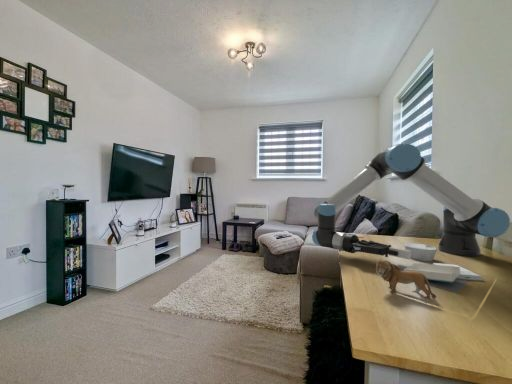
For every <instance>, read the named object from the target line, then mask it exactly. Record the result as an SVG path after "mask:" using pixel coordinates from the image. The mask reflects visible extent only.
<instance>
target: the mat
mask: <svg viewBox="0 0 512 384" xmlns="http://www.w3.org/2000/svg"><path fill="white" fill-rule="evenodd" d="M396 266H397V267H398V268H399V269H401V270H403V271H404V269H405V268H407V267H408V266H406V265H405V266H404V265H401V264H398V265H396ZM428 282H429V284H430V287H432V288H433V287H434V288H437V289H441V290H445V291H448V292H452V293H456V294H459V293H460V291H461V290H462V289H463V288H464V287H465V286H466V285H467V283H468V282H469V281H468V280H467V279H457V278H456V279H455V280H454V281H453V282H444V281H436V280H428ZM424 283H425V286H427V284H426V282H425V281H424Z"/></svg>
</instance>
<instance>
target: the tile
mask: <svg viewBox="0 0 512 384" xmlns="http://www.w3.org/2000/svg"><path fill="white" fill-rule="evenodd" d="M406 267H407V268H405V269H404V271H417V272H420V273H422V274H423V275H424V276H425V277H426V278H427V279H428V280H436V281H444V282H453V281H454V280H455V279H456V278H458V277H459V276H460V274H461V273H460V267H461V266H460V267H454V266H442V265H433V264H428V263H427V264H426V263H417V262H416V263H412V264H411V265H409V266H406Z"/></svg>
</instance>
